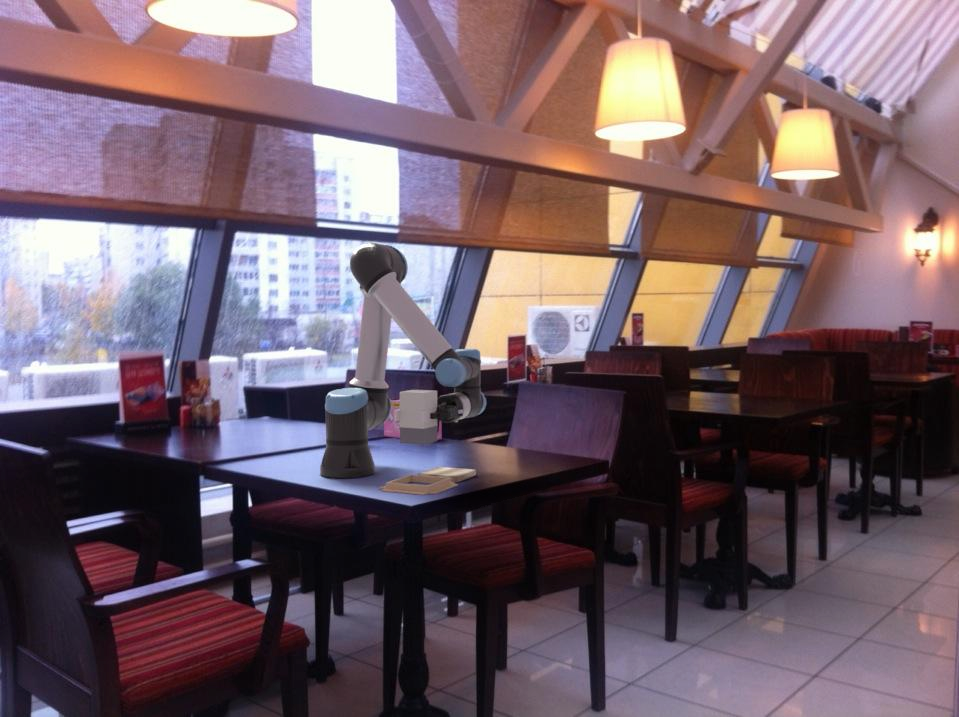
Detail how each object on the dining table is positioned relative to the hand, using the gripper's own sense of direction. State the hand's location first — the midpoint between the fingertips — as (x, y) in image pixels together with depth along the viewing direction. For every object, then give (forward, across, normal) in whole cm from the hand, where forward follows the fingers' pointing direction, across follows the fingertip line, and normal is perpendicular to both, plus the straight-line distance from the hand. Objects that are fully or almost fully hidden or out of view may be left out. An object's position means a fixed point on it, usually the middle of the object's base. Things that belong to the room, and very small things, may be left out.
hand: (408, 416), depth 221 cm
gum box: (-84, +48, -19) cm, 98 cm away
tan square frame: (-5, 0, -19) cm, 19 cm away
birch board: (-20, 0, -19) cm, 28 cm away
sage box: (-5, 0, -7) cm, 9 cm away
